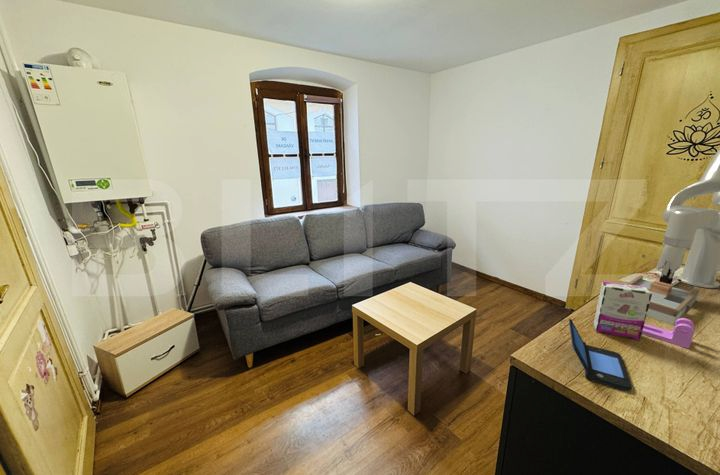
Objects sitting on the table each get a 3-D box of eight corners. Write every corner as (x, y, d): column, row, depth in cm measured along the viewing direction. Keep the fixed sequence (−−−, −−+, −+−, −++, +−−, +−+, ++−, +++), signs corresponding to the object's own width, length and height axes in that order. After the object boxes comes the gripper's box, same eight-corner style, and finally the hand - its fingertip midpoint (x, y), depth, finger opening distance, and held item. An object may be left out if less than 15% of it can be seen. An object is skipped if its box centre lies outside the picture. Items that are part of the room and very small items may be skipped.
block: (653, 287, 116) (655, 280, 116) (670, 292, 112) (673, 285, 111) (648, 290, 114) (650, 283, 113) (666, 295, 110) (668, 288, 109)
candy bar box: (634, 332, 94) (647, 286, 90) (640, 341, 90) (654, 293, 85) (591, 324, 99) (601, 280, 95) (595, 331, 95) (605, 286, 90)
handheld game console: (632, 394, 72) (641, 363, 69) (566, 374, 78) (572, 345, 76) (619, 356, 84) (626, 329, 82) (563, 342, 91) (568, 316, 88)
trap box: (637, 284, 125) (640, 273, 124) (695, 300, 111) (700, 287, 110) (610, 303, 111) (613, 290, 110) (673, 324, 97) (677, 310, 96)
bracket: (688, 340, 90) (695, 320, 88) (688, 349, 86) (695, 328, 84) (632, 323, 99) (637, 305, 97) (629, 330, 95) (635, 311, 93)
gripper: (669, 236, 117) (657, 278, 122) (657, 243, 109) (644, 287, 114) (697, 241, 111) (683, 285, 116) (686, 248, 103) (671, 295, 108)
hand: (664, 286), depth 115 cm, fingers closed
